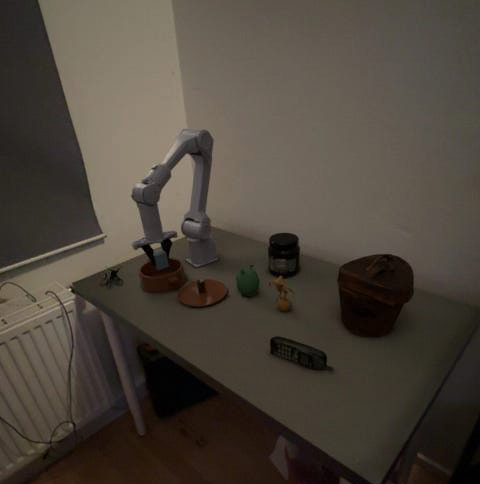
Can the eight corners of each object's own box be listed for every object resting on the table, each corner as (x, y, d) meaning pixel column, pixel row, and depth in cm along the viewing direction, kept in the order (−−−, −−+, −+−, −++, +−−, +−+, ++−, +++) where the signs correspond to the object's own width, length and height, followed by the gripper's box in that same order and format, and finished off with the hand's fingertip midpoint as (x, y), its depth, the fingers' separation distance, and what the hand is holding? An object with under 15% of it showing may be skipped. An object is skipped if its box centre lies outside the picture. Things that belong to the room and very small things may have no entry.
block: (164, 262, 117) (161, 248, 114) (169, 266, 114) (166, 252, 111) (152, 266, 115) (149, 252, 112) (157, 270, 112) (154, 256, 109)
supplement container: (290, 261, 124) (290, 229, 118) (305, 274, 116) (306, 240, 109) (263, 267, 121) (262, 235, 115) (276, 281, 113) (276, 247, 106)
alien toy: (246, 285, 112) (245, 257, 107) (264, 293, 107) (263, 264, 102) (231, 294, 108) (228, 265, 103) (249, 303, 103) (247, 273, 98)
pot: (170, 264, 128) (168, 251, 125) (196, 285, 114) (194, 270, 111) (133, 277, 121) (129, 263, 118) (155, 301, 107) (152, 286, 104)
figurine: (300, 311, 98) (302, 273, 92) (289, 321, 94) (290, 283, 88) (276, 302, 103) (275, 266, 96) (264, 312, 99) (263, 275, 92)
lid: (211, 277, 118) (209, 264, 115) (236, 296, 107) (235, 281, 104) (169, 293, 111) (167, 279, 108) (192, 314, 100) (190, 300, 97)
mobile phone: (268, 340, 81) (330, 359, 74) (274, 332, 83) (335, 350, 76) (269, 356, 84) (329, 376, 77) (274, 348, 86) (334, 367, 79)
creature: (121, 290, 117) (128, 274, 122) (115, 278, 113) (123, 262, 118) (99, 290, 117) (107, 274, 123) (92, 279, 114) (101, 263, 119)
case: (397, 303, 99) (409, 244, 89) (411, 349, 82) (428, 284, 72) (332, 299, 102) (337, 243, 92) (333, 343, 86) (340, 280, 76)
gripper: (133, 233, 100) (143, 274, 108) (178, 221, 107) (185, 260, 114) (125, 227, 105) (135, 266, 113) (169, 215, 112) (176, 253, 119)
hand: (160, 263), depth 114 cm, fingers closed on block, 4 cm apart
